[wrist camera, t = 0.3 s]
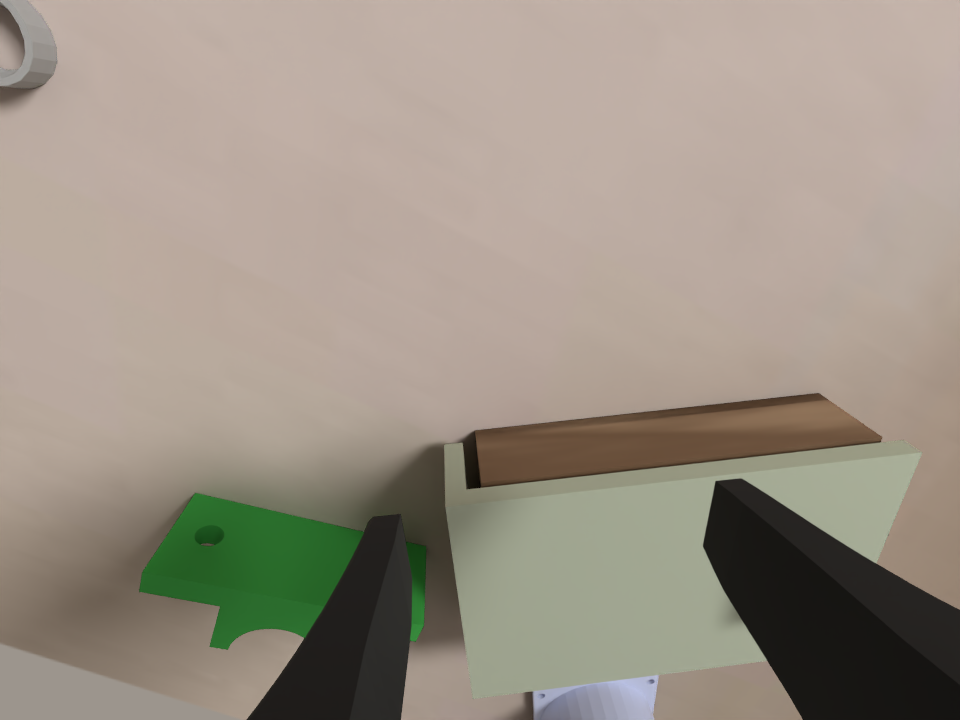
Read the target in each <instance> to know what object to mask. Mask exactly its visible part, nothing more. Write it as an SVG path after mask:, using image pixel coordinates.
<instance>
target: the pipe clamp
mask: <svg viewBox="0 0 960 720" xmlns="http://www.w3.org/2000/svg"><path fill="white" fill-rule="evenodd" d="M363 534H364V532H362V531H358V530H353V529H349V528H345V527H340V526H336V525H332V524H327V523H323V522H319V521H314V520H310V519H306V518H301V517H297V516H293V515H288V514H284V513H280V512H276V511H271V510H267V509H263V508H258V507H254V506H250V505H245V504H241V503H237V502H232V501H228V500H224V499H219V498H215V497H211V496H206V495H202V494H198V493H195V494H194V496H193V497H192V499H191V500H190V502H189V503H188V505H187V506H186V508H185V509H184V511H183V512H182V514H181V515H180V517H179V518H178V520H177V521H176V523H175V524H174V526H173V527H172V529H171V530H170V532H169V533H168V535H167V536H166V538H165V539H164V541H163V542H162V543H161V545H160V546H159V548H158V549H157V551H156V552H155V554H154V555H153V557H152V558H151V560H150V561H149V563H148V564H147V566H146V567H145V569H144V570H143V572H142V577H141V583H140V589H139V592H144V593H149V594H155V595H160V596H166V597H171V598H177V599H182V600H188V601H193V602H199V603H204V604H210V605H215V606H220V609H219V613H218V617H217V620H216V624H215V628H214V632H213V635H212V639H211V643H210V647H214V648H220V649H227V650H228V648H229V646H230V644H231V643H232V642H233V641H234V640H235V639H236V638H238V637H239V636H241V635H243V634H245V633H247V632H250V631H254V630H259V629H281V630H286V631H290V632H293V633H296V634H298V635H300V636H302V637H304V638H305V637H306V635H307V634H308V632H309V630H310V629H311V627H312V626H313V624H314V623H315V621H316V619H317V618H318V616H319V615H320V613H321V611H322V610H323V608H324V606H325V605H326V603H327V601H328V600H329V598H330V596H331V594H332V592H333V591H334V589H335V587H336V585H337V584H338V582H339V580H340V578H341V577H342V575H343V573H344V571H345V569H346V567H347V566H348V564H349V562H350V560H351V558H352V556H353V554H354V552H355V550H356V548H357V546H358V544H359V542H360V540H361V538H362V536H363ZM204 543H211V544H214V545H213V546H203V545H200V544H204ZM406 547H407V552H408V558H409V563H410V568H411V574H412V626H411V635H410V641H414V642H416V640H417V638H418V636H419V634H420V632H421V630H422V629H423V627H424V610H425V575H426V546H422V545H418V544H414V543H409V542H406Z"/></svg>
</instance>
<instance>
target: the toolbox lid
mask: <svg viewBox="0 0 960 720" xmlns="http://www.w3.org/2000/svg"><path fill="white" fill-rule="evenodd" d="M921 454H922V452H921V451H919V450H918V449H916V448H915V447H913V446H912V445H910V444H909V443H907V442H906V441H904V440H899V441H890V442H881V443H872V444H864V445H855V446H846V447H837V448H828V449H819V450H811V451H802V452H793V453H784V454H775V455H767V456H758V457H749V458H740V459H731V460H723V461H714V462H705V463H696V464H687V465H678V466H670V467H661V468H652V469H643V470H634V471H626V472H617V473H608V474H599V475H590V476H581V477H573V478H564V479H555V480H546V481H537V482H529V483H520V484H511V485H502V486H493V487H484V488H476V489H468V487H467V478H466V469H465V460H464V451H463V443H454V444H445V445H444V462H445V509H446V516H447V523H448V530H449V537H450V544H451V551H452V557H453V564H454V571H455V578H456V585H457V592H458V599H459V606H460V613H461V620H462V627H463V634H464V641H465V648H466V655H467V662H468V669H469V676H470V683H471V690H472V697H473V699H477V698H485V697H492V696H500V695H508V694H516V693H523V692H531V691H539V690H546V689H554V688H562V687H569V686H577V685H585V684H592V683H600V682H608V681H616V680H623V679H631V678H639V677H646V676H654V675H662V674H669V673H677V672H685V671H692V670H700V669H708V668H716V667H723V666H731V665H739V664H746V663H754V662H762V661H767V659H766V658H765V656H764V655H763V653H762V651H761V650H760V648H759V647H758V645H757V644H756V642H755V640H754V639H753V637H752V636H751V634H750V632H749V631H748V629H747V628H746V626H745V624H744V623H743V621H742V620H741V618H740V616H739V615H738V613H737V612H736V610H735V608H734V607H733V605H732V603H731V602H730V600H729V598H728V597H727V595H726V594H725V592H724V590H723V588H722V586H721V584H720V582H719V580H718V578H717V576H716V574H715V572H714V570H713V568H712V565H711V563H710V561H709V559H708V557H707V554H706V552H705V550H704V548H703V542H704V536H705V531H706V526H707V521H708V516H709V511H710V506H711V501H712V496H713V491H714V486H715V481H720V480H729V479H739V478H742V479H744V480H745V481H747V482H749V483H750V484H752V485H753V486H755V487H757V488H758V489H760V490H761V491H763V492H764V493H766V494H768V495H769V496H771V497H772V498H774V499H775V500H777V501H778V502H780V503H781V504H783V505H784V506H786V507H787V508H789V509H790V510H792V511H794V512H795V513H797V514H798V515H800V516H801V517H803V518H804V519H806V520H807V521H809V522H810V523H812V524H813V525H815V526H817V527H818V528H820V529H821V530H823V531H824V532H826V533H827V534H829V535H831V536H832V537H834V538H835V539H837V540H838V541H840V542H842V543H843V544H845V545H846V546H848V547H850V548H851V549H853V550H855V551H856V552H858V553H859V554H861V555H863V556H864V557H866V558H868V559H869V560H871V561H873V562H874V563H877V560H878V558H879V556H880V553H881V551H882V548H883V546H884V544H885V541H886V539H887V536H888V534H889V531H890V529H891V527H892V524H893V522H894V519H895V517H896V515H897V512H898V510H899V507H900V505H901V503H902V500H903V498H904V495H905V493H906V491H907V488H908V486H909V483H910V481H911V478H912V476H913V474H914V471H915V469H916V466H917V464H918V462H919V459H920V457H921Z"/></svg>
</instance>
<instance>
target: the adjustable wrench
mask: <svg viewBox="0 0 960 720" xmlns="http://www.w3.org/2000/svg"><path fill="white" fill-rule="evenodd" d="M0 5H2V6H3V7H5V8H7V9H8V10H9V11H10V12H11V14H12V16H13V17H14V19H15V20H16V22H17V23H18V25H19V27H20V30H21V33H22V36H23V38H24V46H25V56H24V59H23V63H22V66H21V67H20V68H19V69H17V70H7V69H4V68H1V67H0V87H10V88H36V87H38V86H41V85H43V84H45V83H46V82H47V81H48V80H49V79H50V78H51V77H52V75H53V74H54V71H55V68H56V64H57V47H56V44H55V41H54V38H53V35H52V32H51V30H50V28H49V26H48V25H47V23H46V21H45V20H44V18H43V17H42V15H41V14H40V13H39V12H38V11H37V10H36V9H35V8H34V7H33V6H32V4H31V3H30V2H29V1H28V0H0Z"/></svg>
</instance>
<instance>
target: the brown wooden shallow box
mask: <svg viewBox="0 0 960 720" xmlns="http://www.w3.org/2000/svg"><path fill="white" fill-rule="evenodd" d="M475 436H476V446H477V456H478V467H479V477H480V487H481V488H484V487H493V486H502V485H511V484H520V483H529V482H537V481H546V480H555V479H564V478H573V477H581V476H590V475H599V474H608V473H617V472H626V471H634V470H643V469H652V468H661V467H670V466H678V465H687V464H696V463H705V462H714V461H723V460H731V459H740V458H749V457H758V456H767V455H775V454H784V453H793V452H802V451H811V450H819V449H828V448H837V447H846V446H855V445H864V444H872V443H880V442H881V439H882V437H881V436H880V435H878V434H877V433H876V432H874V431H873V430H871V429H870V428H868V427H867V426H865V425H864V424H863V423H861V422H860V421H858V420H857V419H855V418H854V417H852V416H851V415H850V414H848V413H847V412H845V411H844V410H842V409H841V408H839V407H838V406H837V405H835V404H834V403H832V402H831V401H829V400H828V399H826V398H825V397H823V396H822V395H821V394H819V393H816V394H807V395H798V396H789V397H780V398H770V399H761V400H752V401H743V402H734V403H724V404H715V405H706V406H697V407H688V408H678V409H669V410H660V411H651V412H642V413H633V414H623V415H614V416H605V417H596V418H587V419H577V420H568V421H559V422H550V423H541V424H532V425H522V426H513V427H504V428H495V429H486V430H476V431H475Z"/></svg>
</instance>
